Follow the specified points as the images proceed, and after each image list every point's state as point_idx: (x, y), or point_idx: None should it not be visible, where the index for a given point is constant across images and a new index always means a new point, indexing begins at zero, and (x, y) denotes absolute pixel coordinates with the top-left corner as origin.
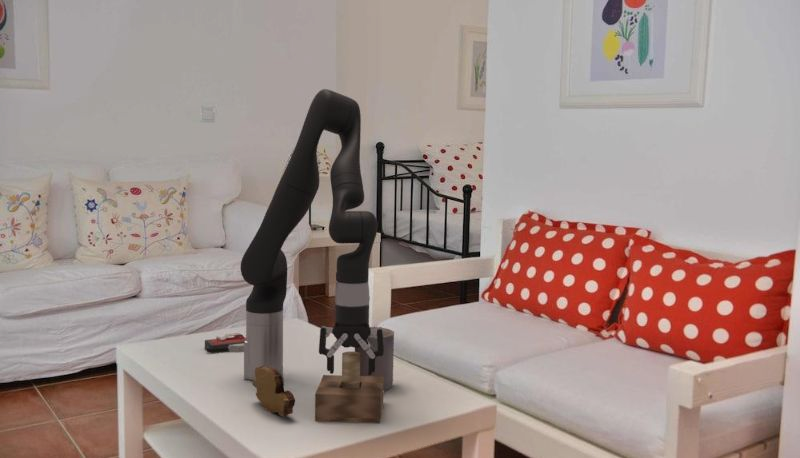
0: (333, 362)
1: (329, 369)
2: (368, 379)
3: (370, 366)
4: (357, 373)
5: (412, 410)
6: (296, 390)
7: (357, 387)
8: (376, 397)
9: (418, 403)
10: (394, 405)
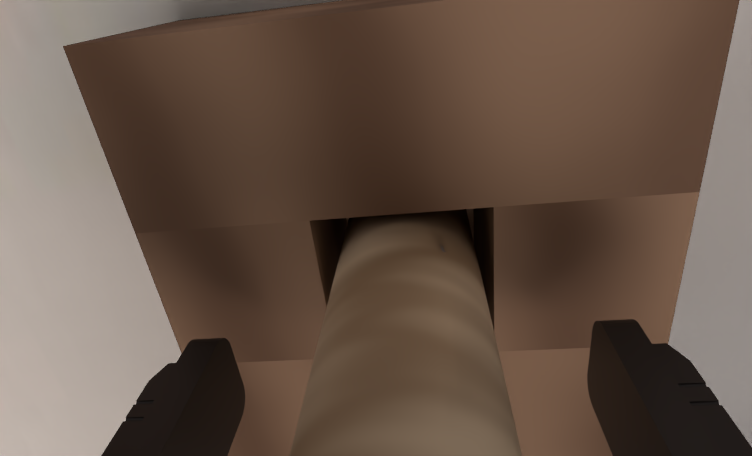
0: (635, 446)
1: (653, 356)
2: None
3: (166, 401)
4: (326, 328)
5: (89, 261)
6: None
7: (343, 251)
8: (109, 39)
9: (103, 352)
10: None
